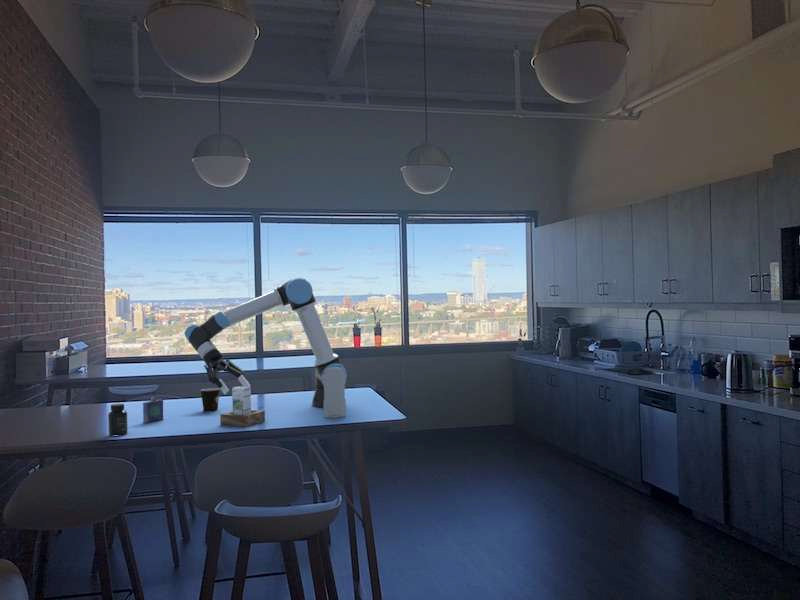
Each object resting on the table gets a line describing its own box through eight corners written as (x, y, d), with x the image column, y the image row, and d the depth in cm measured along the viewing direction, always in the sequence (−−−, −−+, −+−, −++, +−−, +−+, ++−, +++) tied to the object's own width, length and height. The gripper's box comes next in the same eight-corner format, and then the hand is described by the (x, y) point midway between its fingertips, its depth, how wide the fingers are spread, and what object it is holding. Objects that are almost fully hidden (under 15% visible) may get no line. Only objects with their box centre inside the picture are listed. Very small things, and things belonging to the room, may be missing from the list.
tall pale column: (346, 415, 280) (345, 366, 280) (347, 417, 276) (346, 367, 276) (322, 416, 278) (321, 367, 277) (323, 418, 274) (322, 368, 273)
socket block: (241, 419, 276) (240, 408, 276) (264, 421, 270) (264, 410, 270) (220, 424, 264) (220, 414, 264) (244, 427, 259) (244, 416, 259)
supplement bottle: (129, 432, 254) (128, 402, 253) (124, 436, 247) (124, 405, 247) (111, 433, 253) (110, 403, 252) (106, 437, 246) (105, 406, 246)
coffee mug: (208, 412, 293) (208, 391, 293) (197, 411, 298) (196, 390, 298) (228, 408, 303) (228, 388, 302) (217, 407, 308) (217, 386, 308)
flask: (145, 423, 271) (144, 398, 271) (141, 422, 273) (141, 398, 273) (164, 420, 278) (164, 395, 278) (161, 419, 280) (160, 395, 280)
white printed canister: (252, 419, 269) (251, 386, 269) (243, 422, 263) (242, 388, 263) (241, 419, 271) (240, 385, 271) (232, 421, 265) (231, 387, 265)
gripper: (225, 357, 287) (252, 391, 280) (184, 363, 264) (212, 400, 258) (233, 345, 284) (261, 380, 278) (193, 350, 262) (222, 388, 255)
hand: (238, 390), depth 268 cm, fingers open, 13 cm apart
